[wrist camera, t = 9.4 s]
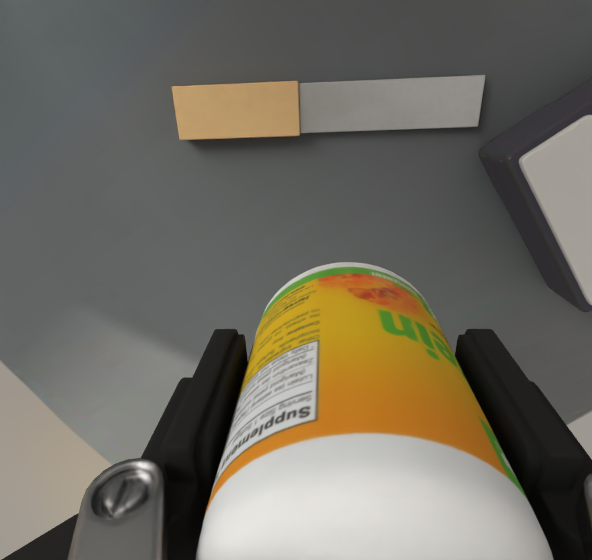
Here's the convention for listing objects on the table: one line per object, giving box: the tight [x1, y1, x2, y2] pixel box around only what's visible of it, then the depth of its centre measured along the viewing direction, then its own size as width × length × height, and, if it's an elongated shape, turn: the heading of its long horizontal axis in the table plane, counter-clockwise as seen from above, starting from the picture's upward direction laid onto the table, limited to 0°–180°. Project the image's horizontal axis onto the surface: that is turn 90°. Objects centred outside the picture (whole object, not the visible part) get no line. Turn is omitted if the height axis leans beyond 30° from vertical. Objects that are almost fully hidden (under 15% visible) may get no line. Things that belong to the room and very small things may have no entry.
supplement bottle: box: [196, 262, 554, 560], centre depth 8 cm, size 5×5×10 cm
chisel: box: [172, 75, 486, 140], centre depth 22 cm, size 17×3×1 cm, turn 92°
